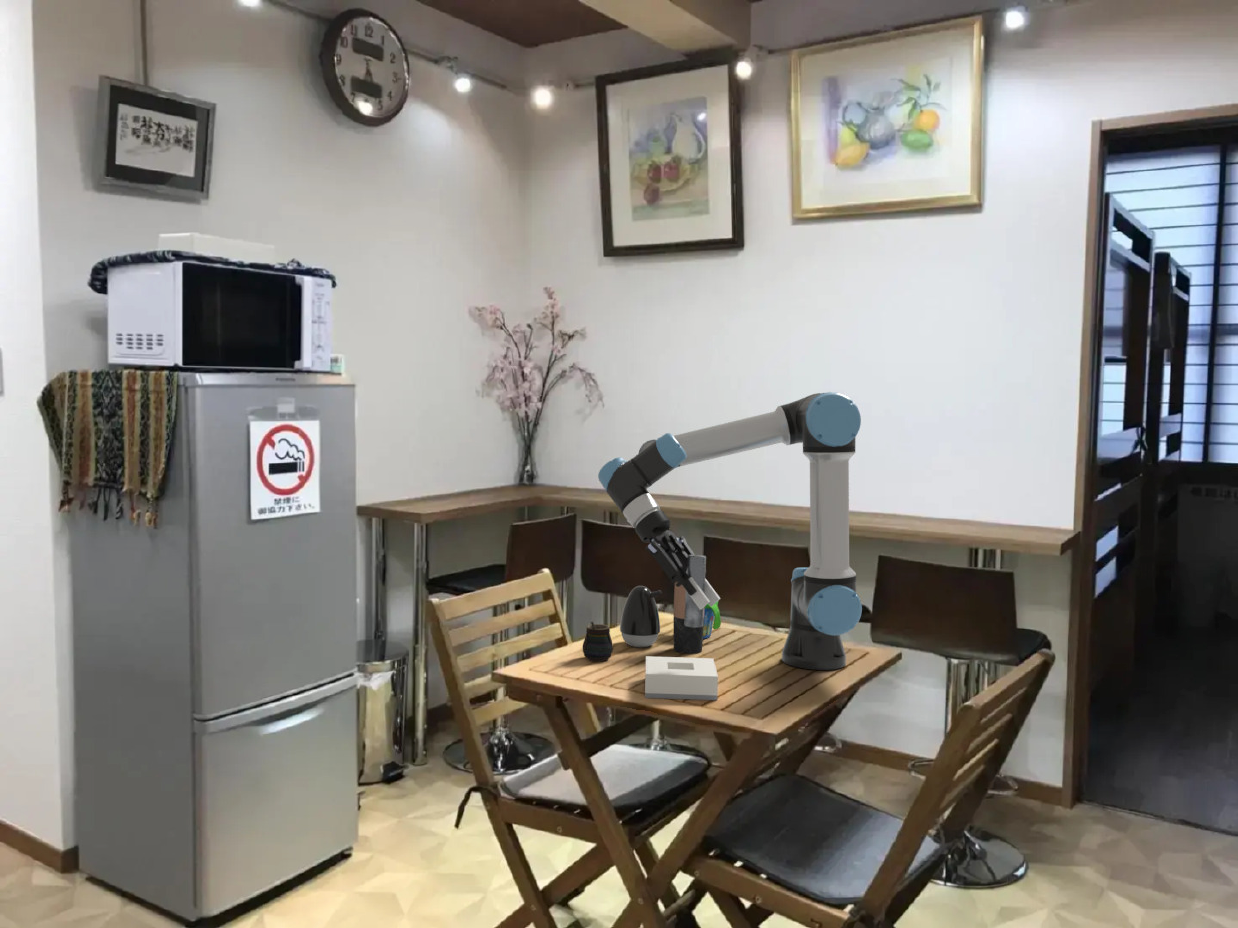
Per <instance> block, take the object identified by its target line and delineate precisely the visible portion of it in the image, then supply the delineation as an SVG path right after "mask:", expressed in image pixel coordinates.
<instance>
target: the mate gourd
mask: <svg viewBox="0 0 1238 928" xmlns="http://www.w3.org/2000/svg"><path fill="white" fill-rule="evenodd" d="M610 628H611V627H610V626H609V625H607V624H603V623H602V624H601V623H594V621H590V624H588V625H587V626H586V633H585V638H584V640H583V643H582V652H583V655H584V657H585V658H586V659H587V660H588V661H591V662H605V661H608V660H609V659H610V658H611V656H612V653H613V651H614V643H613V641H612V638H611V637H612V636H611V634H610V632H611V629H610Z"/></svg>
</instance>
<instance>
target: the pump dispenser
mask: <svg viewBox="0 0 1238 928" xmlns="http://www.w3.org/2000/svg"><path fill="white" fill-rule="evenodd" d="M661 594H662V590H656V591H651V590H650V589H649V588H648V587H647V586H644V585H637V586H635V587H634V588H632V589H631V591H630V592H629V594H628V596H627V598H626V600H625V603H624V606H623V610H622V612H621V613H622V614H621V616H620V617H621V618H620V625H619V631H620V633H621V637H622V639H623V641H624V642H625V644H627V645H628V646H630V647H634V648H648V647H651V646H653V644H655V642H656V641H657V640H658V637H659V634H660V632H661V621H660V615H659V614H660V613H659V610H658V606H657V603H656V600H655V598H656V597H658V596H660V595H661Z"/></svg>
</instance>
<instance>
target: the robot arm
mask: <svg viewBox="0 0 1238 928" xmlns="http://www.w3.org/2000/svg"><path fill="white" fill-rule="evenodd" d="M861 417H862V416H861V413H860V410H859V408H858V406H857V404H856V403H855V402H854V401H853V400H852V399H851V398H849V397H848V396H847V395H844V394H841V393H839V392H833V391H827V392H821V393H819V392H817V393H813V394H810V395H807V396H805V397H802V398H800V399H797V400H795V401H792V402H789V403H786V404H783V405H778V406H777V407H776V409H775V410H773V411H771V412H767V413H763V414H757V415H754V416H751V417H745V418H742V419H736V420H733V421H730V422H725V423H720V424H716V425H712V426H708V427H705V428H704V427H703V428H700V429H697V430H692V431H687V432H684V433H678V434H675V435H673V434H671V433H670V432H667V433H664V434H663V435H662V436H660V437H657V439H649V440H646V442H644V443H642V445H641V446H640V447H639V451H638V453H637V454H636V455H635V456H634V457H632V458H630V460H628V461H627V460H625V459H624V458H623V457H621V456H620V457H615V458H613V459H612V460H609V461H607V462H606V463H605V464H604V465H603V466H601V467H600V468H601V469H599V471H598V475H597V477H598V481H599V483H600V484H601V485H602V487H603V489H604V490H605V492H606V494H608V496H609V497H610V499H611V500H612V501H613V503H614V504H615V506H616V507H617V508H618V509H619V511H620V512H621V513H622V514H623V515H624V518H626V521H627V523H629V524H630V526H631V527H632V528H634V530H635V533H636V534H637V535H638V538H640V539H641V541H642V542H643V543H646V544H647V543H649V544H648V545H647V546H645V551H647V553H648V554H650V555H651V556H652V557H653V558H654V560H655V561H656V563H657V564H658V565H659V566H660V568H661V569H662V571H663V572H664V573H665V574H666V575H667V577H668V579H669V580H670V581H671V582H672V584H675V583H676V582H678V583H677V584H676V586H677V587H679V586H681V585H682V586H683V587H684V589H685V590H686V591H687V593H688V594H689V595H690V597H691V598H692V600H693V601H694V602H695V604H696V605H697V606H698V608H699V609H700V610H701V609H703V608H704V607H705V606H706V605H707V604H709V605H710V606H713V605H714V604H715V603H716V602H717V601H718V602H719V601H720V600H721V597H720V595H719V594H718V592H716V591H715V589H714V588H713V586H712V585H711V584H710V582H709V581H708V580H707V579H706V577H705V592H704V593H703V591H702V590H701V589H700V587H699V586H698V585H697V583H696V582H695V580H694V579H693V578H692V577H690V578H689V576H688V574H687V573H686V572H687V555H696V554H695V553H694V551H693V550H692V548H691V547H690V546H689V544H688V542H687V539H686V538H685V536H683V535H681V536H680V537H676V535H675V533H673V532H672V531H671V530H670V527H671V524H672V522H671V520H670V519H669V517H668V516H667V515H666V513H665V512H664V511H663V510H661V507H660V505H659V503H657V501H656V500H655V498H654V497H653V496H652V495H651V493H650V491H648V488H650V487H651V486H653V485H654V484H655V483H657V482H658V481H659V480H661V479H662V478H664V477H665V476H666V475H668V474H669V473H671V472H673V470H674V469H676V468H680V467H683V466H689V465H692V464H696V463H701V462H705V461H709V460H713V459H718V458H721V457H725V456H730V455H734V454H735V455H736V454H740V453H743V452H748V451H752V450H755V449H760V448H764V447H768V446H773V445H776V444H777V445H778V444H781V443H782V444H784V445H786V446H790V445H795V444H801V443H802V454H803V455H804V456H805V457H806V458H807V459H808V460H809V512H810V514H809V518H810V519H809V527H810V529H809V532H810V535H809V536H810V538H809V539H810V541H809V543H810V545H809V546H810V565H809V567H796V568H794V569H793V571H792V576H791V580H790V582H791V595H790V596H791V597H790V627H789V631H788V634H787V637H786V640H785V642H784V645H783V648H782V651H781V661H782V662H783V663H784V664H786V665H787V666H790V667H794V668H799V669H805V670H816V671H817V670H818V671H823V670H824V671H826V670H827V671H828V670H829V671H831V670H837V669H841V668H843V667H845V666H846V663H847V662H846V661H847V655H846V654H847V653H846V651H845V648H844V645H843V641H842V638H841V635H844V634H848V633H849V632H850V631H852V629H854V628H855V627H856V626H857V624H858V623H859V621H860V619H861V616H862V611H863V605H862V603H861V599H860V596H859V595H858V593H857V573H856V572H855V570H854V569H853V568H852V567H850V566H851V565H850V498H849V497H850V487H849V486H850V485H849V484H850V482H849V480H850V479H849V478H850V477H849V476H850V475H849V474H850V473H849V472H850V471H849V467H850V466H849V465H850V464H849V462H850V459H851V458H852V457H853V456H854V455H855V454H856V438H857V435H858V433H859V431H860V428H861V425H862V424H861V423H862V418H861ZM706 573H707V570H706V571H705V574H706ZM688 578H689V579H688Z"/></svg>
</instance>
